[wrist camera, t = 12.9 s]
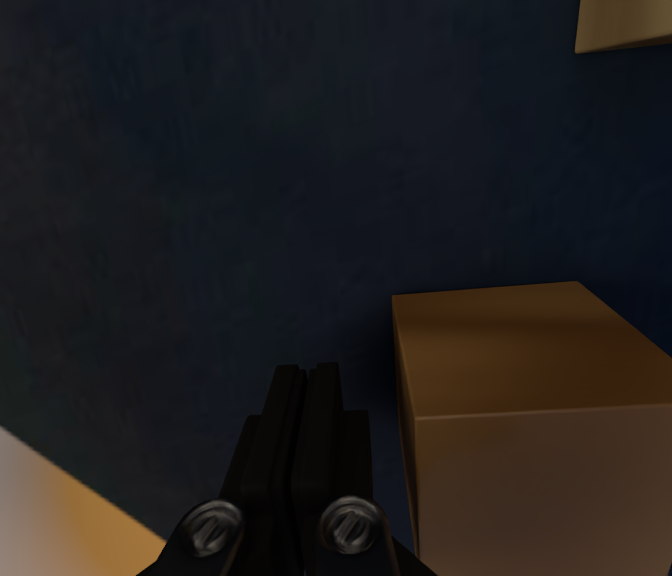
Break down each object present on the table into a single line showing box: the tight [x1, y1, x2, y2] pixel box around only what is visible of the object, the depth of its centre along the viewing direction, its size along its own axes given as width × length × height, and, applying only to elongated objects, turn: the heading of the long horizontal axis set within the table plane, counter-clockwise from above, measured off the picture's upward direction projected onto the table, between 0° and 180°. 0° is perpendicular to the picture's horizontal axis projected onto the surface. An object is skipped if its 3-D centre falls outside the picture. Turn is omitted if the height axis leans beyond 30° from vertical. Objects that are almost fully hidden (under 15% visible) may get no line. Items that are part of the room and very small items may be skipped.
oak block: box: [392, 281, 672, 576], centre depth 10 cm, size 5×5×5 cm
